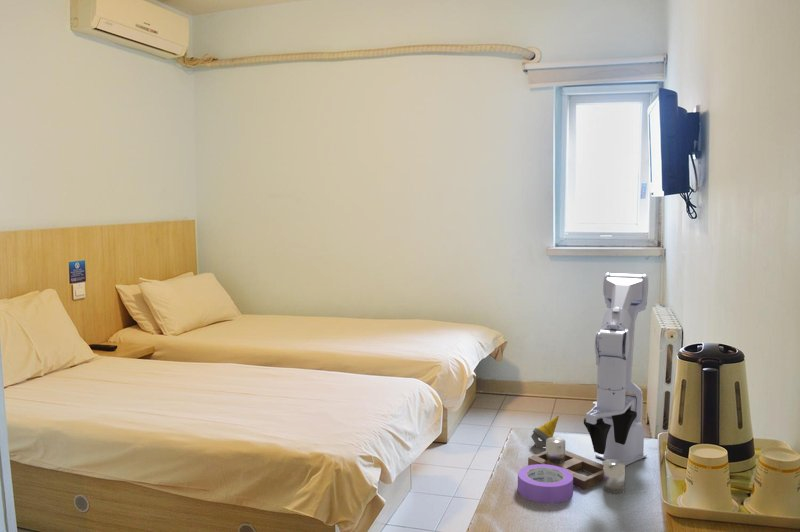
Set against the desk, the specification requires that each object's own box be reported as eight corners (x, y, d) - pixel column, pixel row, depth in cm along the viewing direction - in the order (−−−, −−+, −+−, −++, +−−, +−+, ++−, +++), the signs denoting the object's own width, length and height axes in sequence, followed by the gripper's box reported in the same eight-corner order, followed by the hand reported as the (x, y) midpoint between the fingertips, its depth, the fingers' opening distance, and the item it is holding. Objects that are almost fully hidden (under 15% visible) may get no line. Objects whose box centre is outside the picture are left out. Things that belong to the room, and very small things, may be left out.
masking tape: (522, 476, 160) (522, 460, 159) (575, 483, 156) (576, 467, 155) (512, 499, 149) (513, 482, 148) (569, 507, 145) (569, 490, 144)
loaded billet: (554, 460, 168) (554, 435, 167) (569, 466, 164) (569, 441, 163) (541, 465, 165) (542, 440, 164) (556, 471, 162) (556, 446, 161)
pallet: (556, 454, 171) (556, 446, 171) (612, 477, 158) (612, 468, 158) (528, 465, 165) (528, 457, 165) (583, 489, 152) (584, 480, 152)
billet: (611, 483, 155) (611, 457, 154) (628, 490, 152) (629, 463, 151) (598, 489, 152) (599, 462, 152) (615, 496, 149) (616, 469, 148)
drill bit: (527, 443, 180) (551, 412, 182) (544, 456, 177) (568, 425, 179) (524, 437, 175) (549, 406, 177) (542, 450, 172) (566, 418, 174)
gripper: (614, 375, 156) (613, 434, 158) (574, 389, 147) (573, 451, 149) (643, 382, 151) (641, 443, 153) (603, 397, 142) (601, 461, 144)
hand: (609, 447), depth 151 cm, fingers open, 7 cm apart
